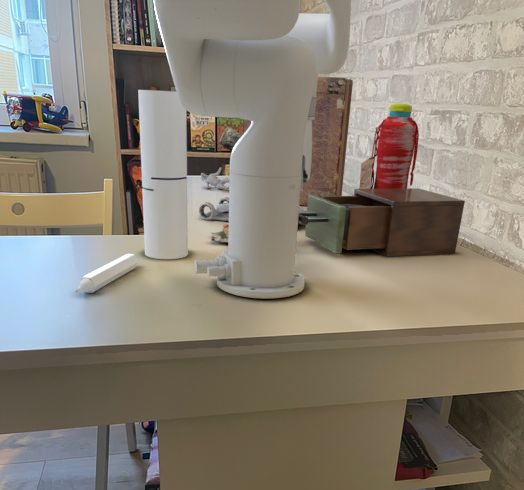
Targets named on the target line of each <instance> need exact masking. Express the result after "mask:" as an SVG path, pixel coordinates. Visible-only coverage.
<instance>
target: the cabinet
mask: <svg viewBox="0 0 524 490" xmlns="http://www.w3.org/2000/svg"><path fill="white" fill-rule="evenodd" d="M353 196H365V197H368V198H371V199H374V200H376V201H379V202H382V203H385V204H388V205H391V211H390V219H389V226H388V233H387V241H386V248H378V249H371V250H372V251H374V252H377V253H378V254H381V255H383V256H385V257H386V258H387V257H388V258H390V257H407V256H427V255H430V256H431V255H450V254H451V255H452V254H456V251H457V246H458V239H459V234H460V229H461V224H462V219H463V213H464V210H465V209H464V208H465V203H466V201H465V200H464V199H459V198H456V197H452V196H448V195H444V194H441V193H437V192H433V191H430V190H428V189H427V190H426V189H423V188H417V187H415V188H414V187H413V188H407V189H359V188H354V190H353Z"/></svg>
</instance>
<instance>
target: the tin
mask: <svg viewBox="0 0 524 490" xmlns="http://www.w3.org/2000/svg"><path fill="white" fill-rule="evenodd" d="M341 205H342V206H344V207H346V214H345V224H344V233H343V240H346V233H347V224H348V214H349V207H364V206H362V205H354V204H341Z"/></svg>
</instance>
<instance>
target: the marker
mask: <svg viewBox="0 0 524 490" xmlns="http://www.w3.org/2000/svg"><path fill="white" fill-rule="evenodd" d="M139 262H140V260H139V258H138V257H137V255H136V254H135V253H125V254H123V255H122V256H119V257H117V258H115V259H114V260H112V261H110V262H108V263H106V264H104V265H102V266H100V267H99V268H96V269H95V270H92V271H90V272H89V273H87V274H85V275H83V276H81V278H80V280H79V282H78V287H77V288H76V290H75V293H82V292H83V293H87V294H93V293H94V292H96V291H98V290H100V289H102V288H103V287H105V286H107V285H108V284H110V283H112V282H113V281H115V280H117V279H119V278H121V277H122V276H124V275H125V274H127V273H129V272H131V271H133V270H134V269H136V268H137V266H138V264H139Z"/></svg>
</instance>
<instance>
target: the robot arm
mask: <svg viewBox="0 0 524 490" xmlns="http://www.w3.org/2000/svg"><path fill="white" fill-rule="evenodd" d="M152 1H153V6H154V11H155V16H156V20H157V25H158V29H159V32H160V36H161V40H162V43H163V48H164V51H165V54H166V58H167V62H168V65H169V70H170V73H171V77H172V81H173V85H174V88H175V92H177V94H178V97H179V99H180V102H181V104H182V105H183V107H184V108H185V109H186V112H188V113H189V114H192V115H195V116H199V117H212V118H226V119H227V118H229V119H230V118H231V119H241V120H243V119H247V120H250V121H251V125H250V127H249V128H248V129H247V131H246V132H245V133H244V134H243V133H242V135H241V138H240V139H239V140H238V141H237V143H236V144H235V146H234V148H233V150H232V153H231V152H230V156H229V157H230V158H229V179H230V183H228V185H229V186H228V187H229V190H228V198H229V221H228V224H229V236H228V242H227V243H228V244H227V245H228V246H227V250H222V251H221V252H222V253H221V256H216V258H215V259H207V258H206V259H194V262H193V269H194V270H193V271H194V273H195V275H199V274H200V275H201V274H207V277H208V278H211V277H216V285H217V287H218V288H219V289H220V290H222V291H224V292H226V293H228V294H231V295H234V296H237V297H243V298H251V299H263V300H265V299H267V300H268V299H270V300H271V299H282V298H289V297H291V296H295V295H298V294H299V293H301V292H302V291H303V290H304V289H305V283H306V282H305V278H304V277H303V276H302V275H301V274H299V273H297V272H295V270H296V258H297V257H296V256H297V255H296V254H297V244H298V243H297V242H298V228H299V224H298V215H299V207H300V206H299V200H300V192H303V183H306V182H308V181H309V179H310V173H311V161H312V120H315V107H316V98H315V97H316V94H317V81H318V77H319V75H330V74H331V75H332V74H335V73H337V72H339V71H340V70H341V69H342V67H343V66H344V65H345V64H346V61H347V58H348V55H349V49H350V48H349V47H350V40H351V39H350V37H351V13H352V0H323V2H324V3H325V4H326V6H327V9H328V13H311V12H309V13H307V12H300V11H301V0H152Z"/></svg>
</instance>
